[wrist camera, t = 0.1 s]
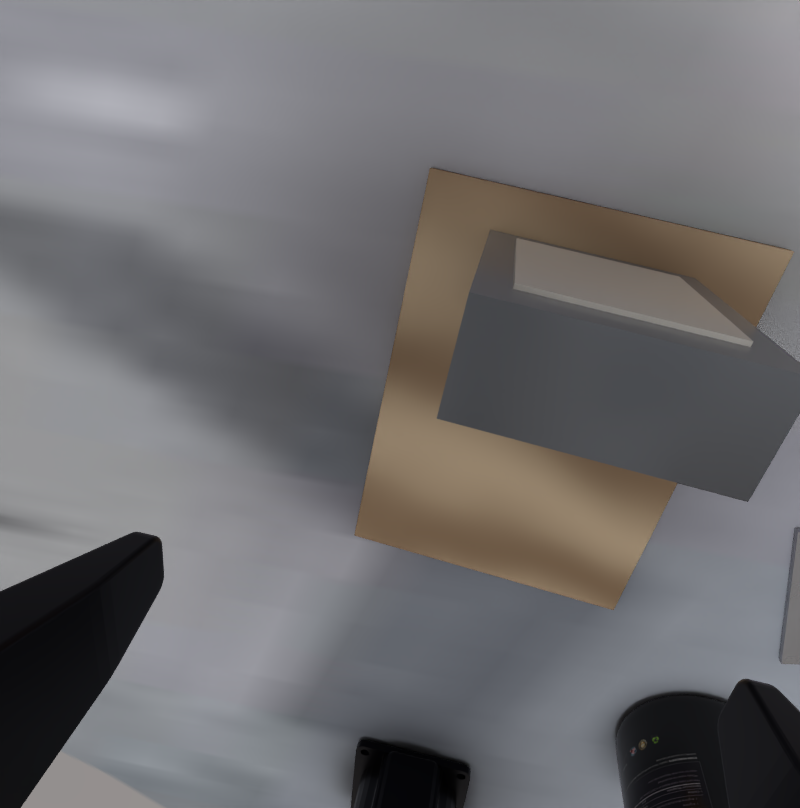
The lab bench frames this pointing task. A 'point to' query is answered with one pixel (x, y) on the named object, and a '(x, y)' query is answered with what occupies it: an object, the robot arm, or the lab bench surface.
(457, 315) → the cork mat
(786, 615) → the metal turner
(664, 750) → the supplement bottle
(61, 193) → the lab bench surface
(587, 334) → the thick grey slab block
